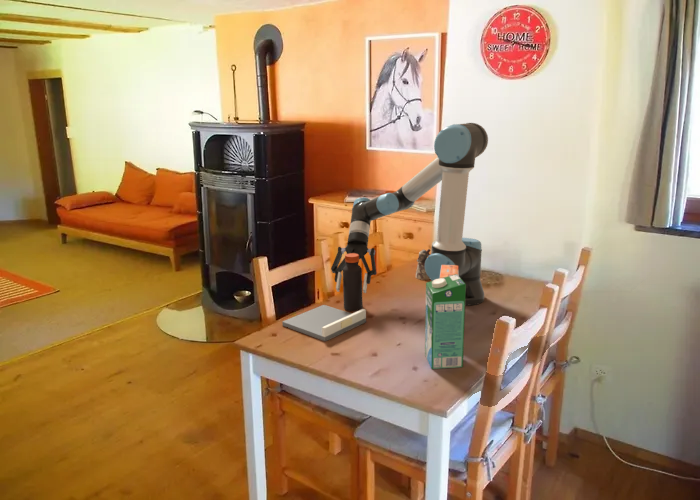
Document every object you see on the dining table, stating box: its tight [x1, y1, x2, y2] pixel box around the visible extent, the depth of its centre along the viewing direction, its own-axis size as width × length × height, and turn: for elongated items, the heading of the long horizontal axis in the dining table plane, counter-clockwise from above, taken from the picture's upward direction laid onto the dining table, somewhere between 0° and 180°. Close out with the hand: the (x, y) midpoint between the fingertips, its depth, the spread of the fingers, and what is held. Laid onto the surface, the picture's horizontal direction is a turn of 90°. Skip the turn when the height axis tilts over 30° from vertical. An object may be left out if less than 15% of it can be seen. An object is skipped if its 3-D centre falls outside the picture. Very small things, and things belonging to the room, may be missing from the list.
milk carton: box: [424, 274, 466, 370], centre depth 161 cm, size 9×9×25 cm
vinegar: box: [342, 253, 363, 312], centre depth 203 cm, size 7×7×20 cm
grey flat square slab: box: [281, 304, 367, 342], centre depth 192 cm, size 20×20×4 cm
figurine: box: [415, 248, 431, 281], centre depth 236 cm, size 7×7×12 cm
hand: (350, 290), depth 201 cm, fingers open, 9 cm apart
